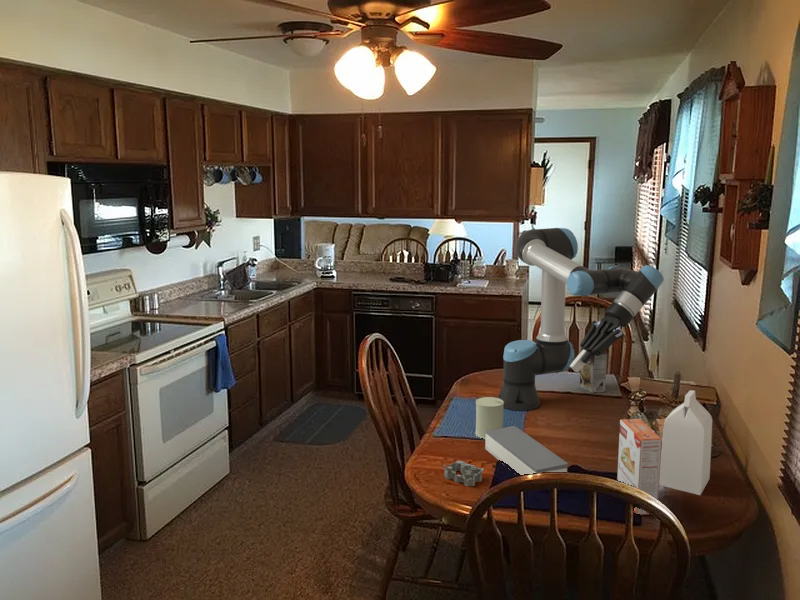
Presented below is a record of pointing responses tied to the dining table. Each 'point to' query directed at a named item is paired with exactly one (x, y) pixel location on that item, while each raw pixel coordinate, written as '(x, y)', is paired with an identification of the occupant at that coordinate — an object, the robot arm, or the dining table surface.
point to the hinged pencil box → (510, 457)
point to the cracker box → (639, 457)
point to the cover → (527, 449)
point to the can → (488, 415)
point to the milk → (686, 447)
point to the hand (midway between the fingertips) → (573, 369)
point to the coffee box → (594, 373)
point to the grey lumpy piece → (465, 469)
